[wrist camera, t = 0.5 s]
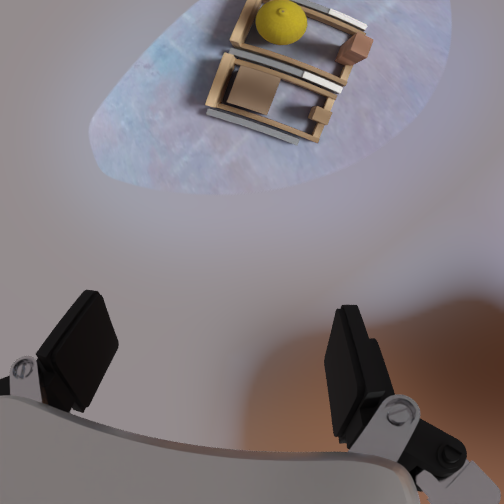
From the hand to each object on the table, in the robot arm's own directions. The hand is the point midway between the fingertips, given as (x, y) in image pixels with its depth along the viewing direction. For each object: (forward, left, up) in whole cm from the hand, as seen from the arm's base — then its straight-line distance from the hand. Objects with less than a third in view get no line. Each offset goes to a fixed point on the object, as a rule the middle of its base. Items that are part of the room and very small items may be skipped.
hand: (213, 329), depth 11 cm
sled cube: (-10, -1, -28) cm, 30 cm away
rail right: (-6, -2, -28) cm, 29 cm away
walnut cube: (-10, -3, -28) cm, 30 cm away
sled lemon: (-19, -1, -28) cm, 34 cm away
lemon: (-19, -3, -29) cm, 34 cm away
